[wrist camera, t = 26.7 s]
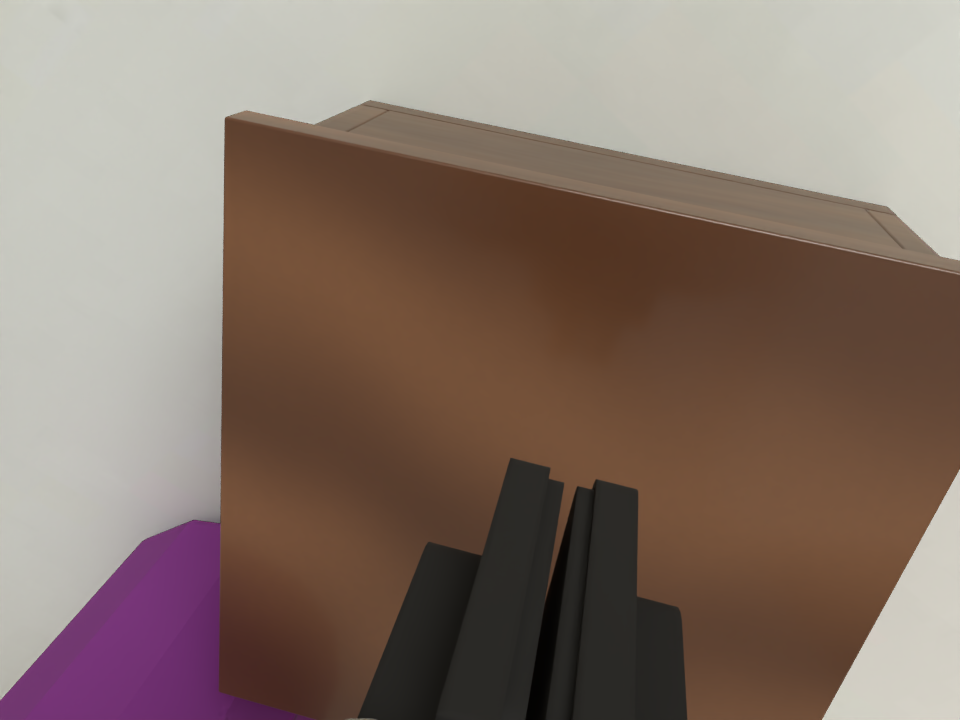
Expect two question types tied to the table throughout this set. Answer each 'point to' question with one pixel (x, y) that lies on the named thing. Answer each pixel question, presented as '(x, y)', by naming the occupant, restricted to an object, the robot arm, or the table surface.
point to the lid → (562, 408)
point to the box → (631, 173)
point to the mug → (142, 644)
